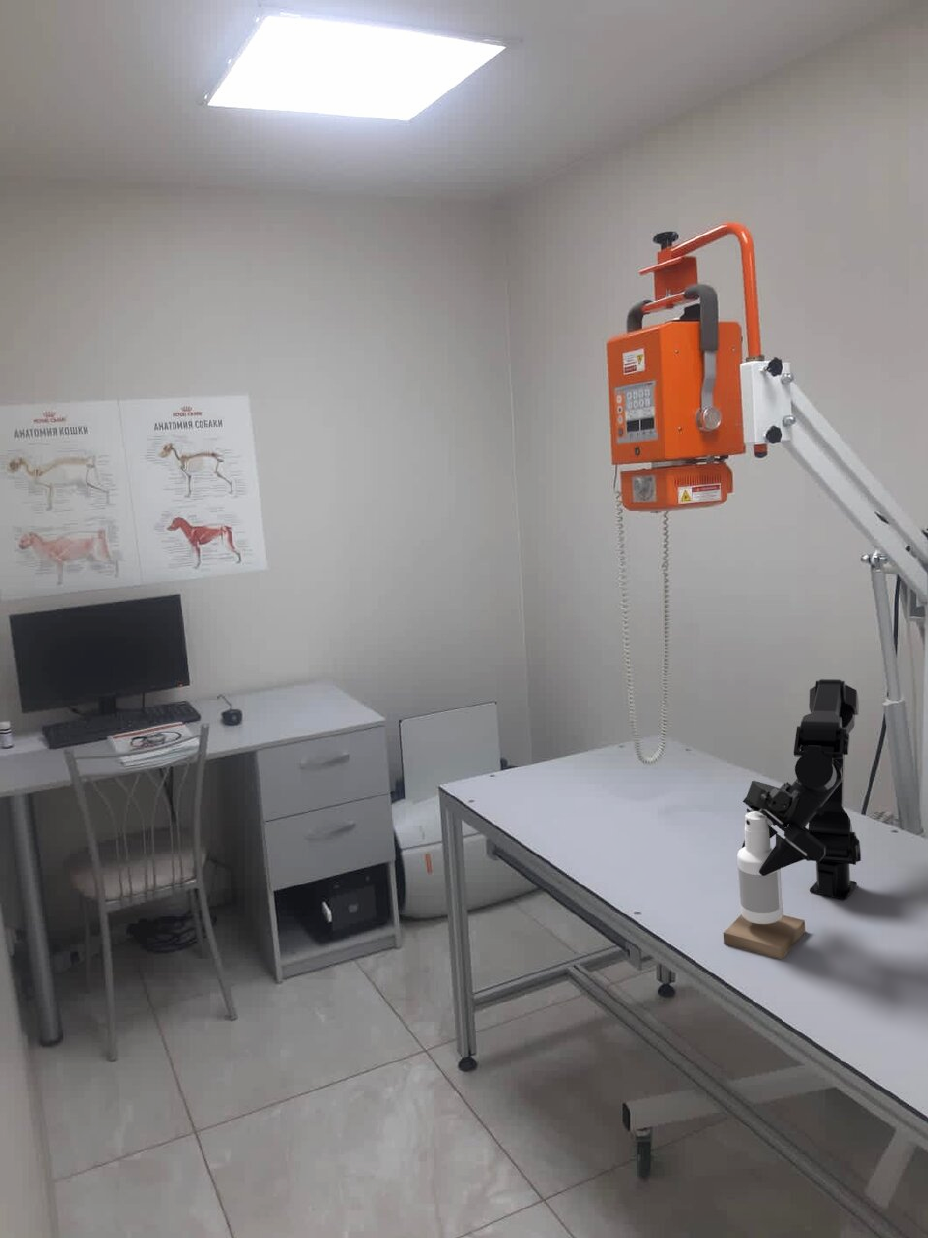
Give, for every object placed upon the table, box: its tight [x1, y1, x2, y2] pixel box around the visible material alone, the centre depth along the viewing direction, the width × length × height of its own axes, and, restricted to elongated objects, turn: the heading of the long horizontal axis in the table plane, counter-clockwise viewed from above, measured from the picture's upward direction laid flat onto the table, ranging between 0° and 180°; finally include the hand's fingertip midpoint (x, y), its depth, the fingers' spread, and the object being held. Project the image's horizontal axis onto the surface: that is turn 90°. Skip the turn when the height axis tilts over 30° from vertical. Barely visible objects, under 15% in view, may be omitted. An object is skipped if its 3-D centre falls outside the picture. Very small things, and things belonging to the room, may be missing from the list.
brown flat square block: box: [723, 913, 806, 961], centre depth 165 cm, size 10×10×2 cm
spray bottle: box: [736, 811, 784, 924], centre depth 163 cm, size 7×7×18 cm
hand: (751, 865), depth 163 cm, fingers closed on spray bottle, 7 cm apart
